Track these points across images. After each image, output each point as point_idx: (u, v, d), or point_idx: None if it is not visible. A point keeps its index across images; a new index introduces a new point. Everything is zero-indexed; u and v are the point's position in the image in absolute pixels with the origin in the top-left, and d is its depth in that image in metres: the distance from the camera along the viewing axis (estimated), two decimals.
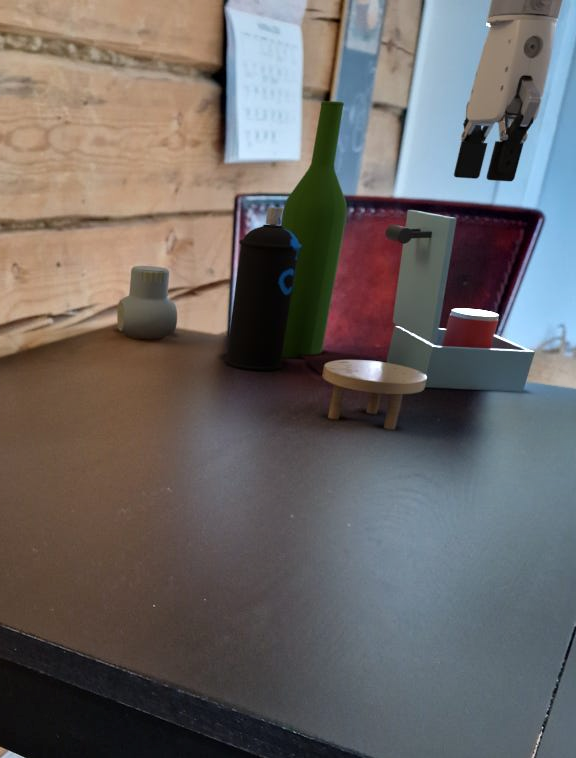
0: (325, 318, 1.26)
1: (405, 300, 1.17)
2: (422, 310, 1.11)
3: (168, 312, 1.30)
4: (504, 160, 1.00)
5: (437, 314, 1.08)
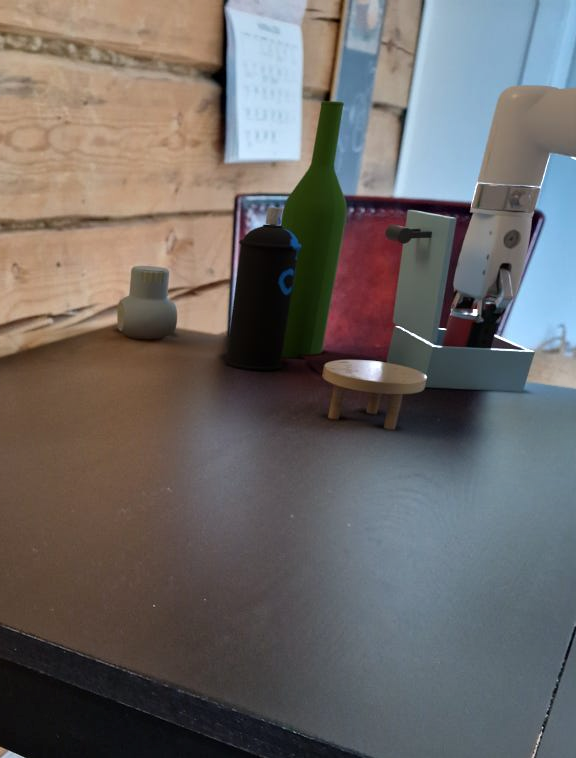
0: (325, 318, 1.26)
1: (405, 300, 1.17)
2: (422, 310, 1.11)
3: (168, 312, 1.30)
4: (480, 339, 1.12)
5: (437, 314, 1.08)
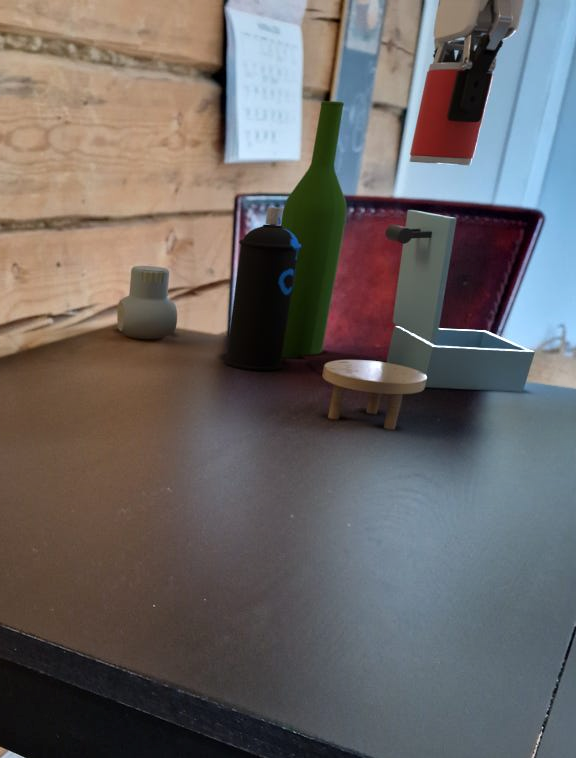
0: (325, 318, 1.26)
1: (405, 300, 1.17)
2: (422, 310, 1.11)
3: (168, 312, 1.30)
4: (468, 94, 0.81)
5: (437, 314, 1.08)
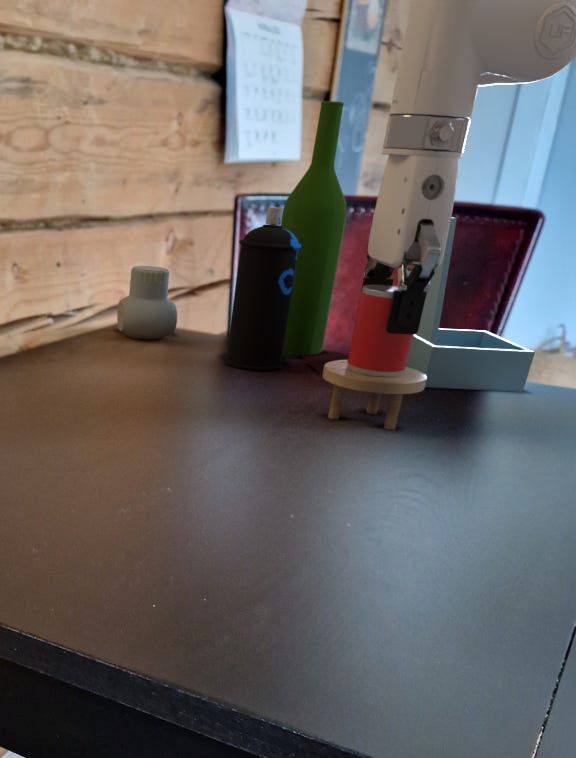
0: (325, 318, 1.26)
1: None
2: None
3: (168, 312, 1.30)
4: (405, 313, 0.85)
5: (437, 314, 1.08)
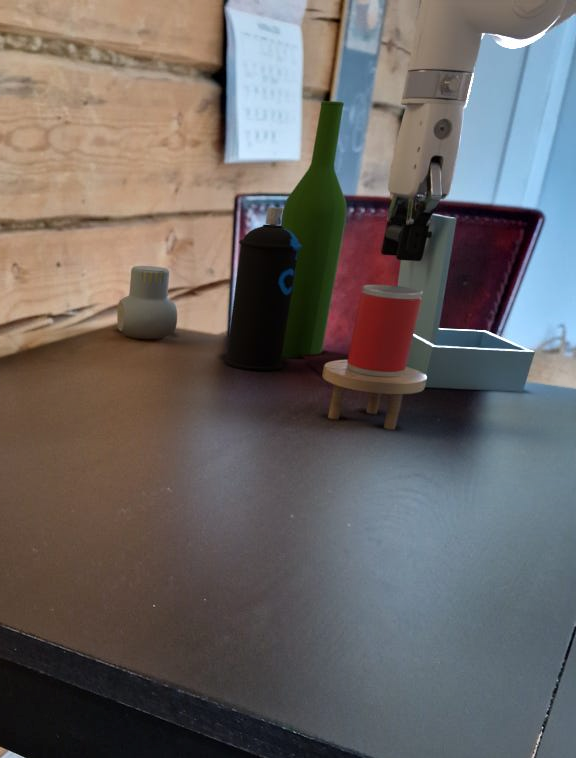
0: (325, 318, 1.26)
1: None
2: (422, 310, 1.11)
3: (168, 312, 1.30)
4: (411, 242, 1.07)
5: (437, 314, 1.08)
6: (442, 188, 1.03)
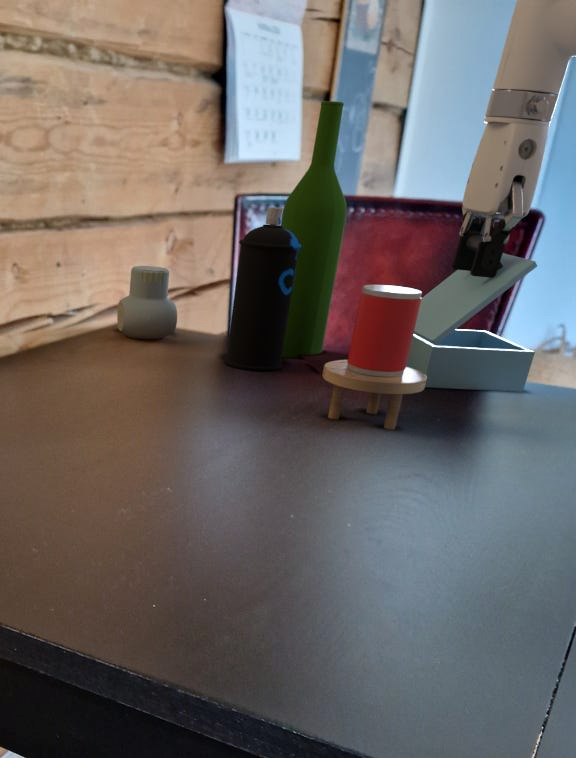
0: (325, 318, 1.26)
1: (425, 307, 1.18)
2: (441, 317, 1.12)
3: (168, 312, 1.30)
4: (487, 259, 1.08)
5: (457, 323, 1.08)
6: None
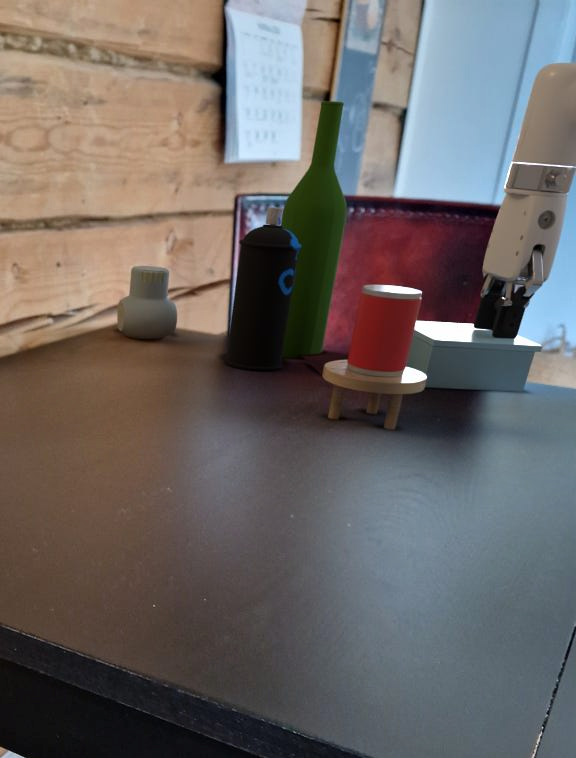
0: (325, 318, 1.26)
1: (430, 325, 1.19)
2: (446, 334, 1.13)
3: (168, 312, 1.30)
4: (508, 322, 1.12)
5: (460, 343, 1.10)
6: None
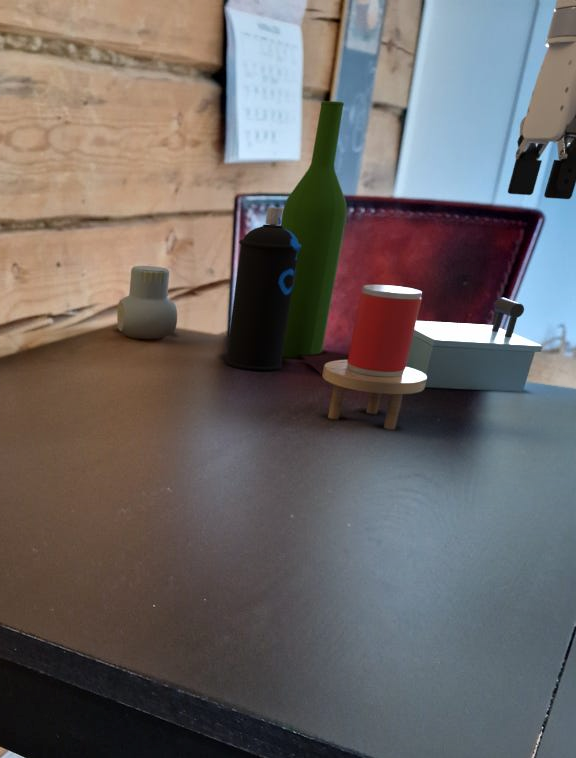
0: (325, 318, 1.26)
1: (430, 325, 1.19)
2: (446, 334, 1.13)
3: (168, 312, 1.30)
4: (563, 178, 1.02)
5: (460, 343, 1.10)
6: None
